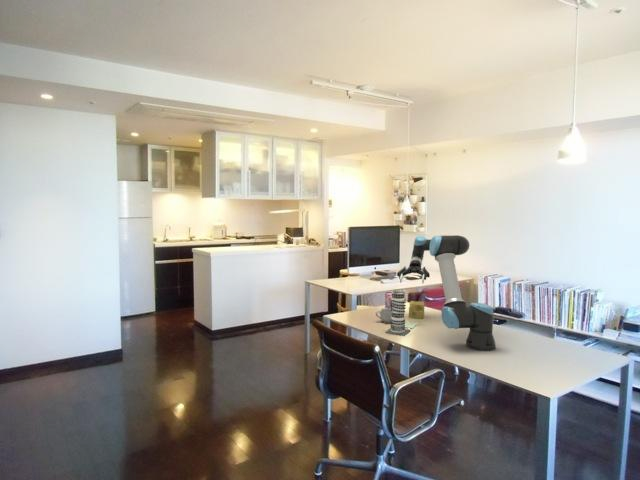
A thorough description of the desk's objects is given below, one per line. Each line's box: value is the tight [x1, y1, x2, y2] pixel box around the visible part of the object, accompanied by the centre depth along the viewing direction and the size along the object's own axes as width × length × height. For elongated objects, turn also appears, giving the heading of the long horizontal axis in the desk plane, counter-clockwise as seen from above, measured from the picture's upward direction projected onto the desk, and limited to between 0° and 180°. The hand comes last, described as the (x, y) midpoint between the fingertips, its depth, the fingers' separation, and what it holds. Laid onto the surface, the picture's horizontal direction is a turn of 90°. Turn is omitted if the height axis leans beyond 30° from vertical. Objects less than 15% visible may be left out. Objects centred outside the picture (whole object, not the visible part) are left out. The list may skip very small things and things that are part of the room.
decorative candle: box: [390, 288, 407, 333], centre depth 260 cm, size 9×9×25 cm
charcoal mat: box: [384, 327, 411, 337], centre depth 260 cm, size 12×12×1 cm
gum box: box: [384, 291, 392, 308], centre depth 302 cm, size 24×8×14 cm, turn 179°
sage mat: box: [404, 321, 419, 330], centre depth 274 cm, size 12×12×1 cm
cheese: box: [407, 300, 426, 320], centre depth 296 cm, size 10×11×10 cm
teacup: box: [375, 307, 392, 324], centre depth 282 cm, size 14×11×8 cm
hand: (411, 281), depth 266 cm, fingers open, 13 cm apart
